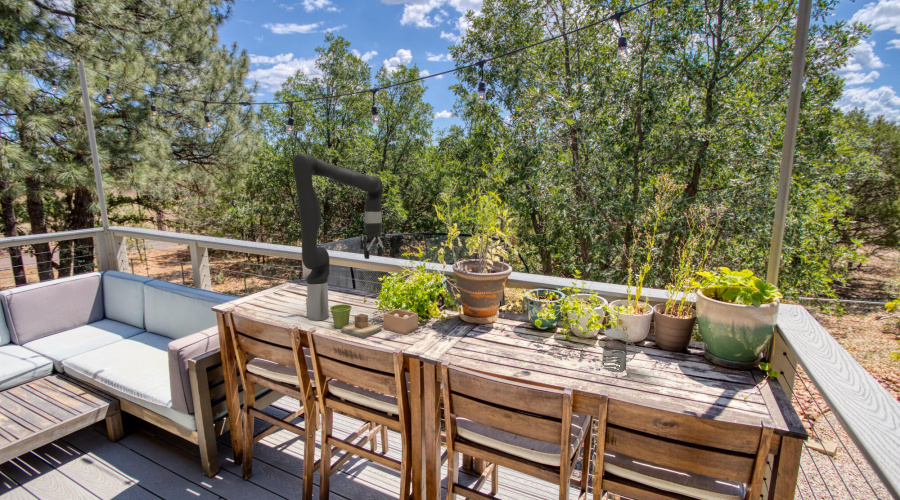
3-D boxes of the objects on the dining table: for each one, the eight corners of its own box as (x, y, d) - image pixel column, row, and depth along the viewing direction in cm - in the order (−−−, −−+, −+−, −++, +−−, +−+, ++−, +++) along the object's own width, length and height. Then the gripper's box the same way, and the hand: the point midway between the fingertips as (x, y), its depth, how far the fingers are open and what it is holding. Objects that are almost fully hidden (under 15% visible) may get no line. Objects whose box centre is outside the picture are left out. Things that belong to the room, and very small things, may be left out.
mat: (341, 332, 179) (341, 330, 179) (359, 325, 188) (359, 322, 188) (363, 338, 172) (363, 336, 172) (381, 330, 181) (381, 328, 181)
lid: (342, 329, 179) (341, 315, 178) (358, 323, 187) (358, 309, 186) (364, 336, 172) (364, 321, 171) (380, 328, 181) (380, 315, 180)
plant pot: (339, 331, 180) (339, 312, 178) (326, 326, 185) (325, 307, 184) (356, 325, 187) (356, 307, 186) (343, 321, 193) (342, 303, 191)
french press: (604, 362, 154) (609, 296, 150) (637, 372, 147) (644, 303, 142) (594, 371, 146) (599, 302, 142) (628, 382, 139) (635, 309, 135)
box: (383, 329, 183) (383, 313, 182) (396, 323, 191) (396, 308, 190) (405, 334, 177) (405, 319, 176) (417, 328, 185) (417, 313, 184)
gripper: (377, 219, 194) (377, 254, 197) (355, 222, 182) (356, 258, 185) (390, 221, 190) (390, 256, 193) (368, 223, 178) (368, 260, 181)
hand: (373, 257), depth 189 cm, fingers open, 8 cm apart
